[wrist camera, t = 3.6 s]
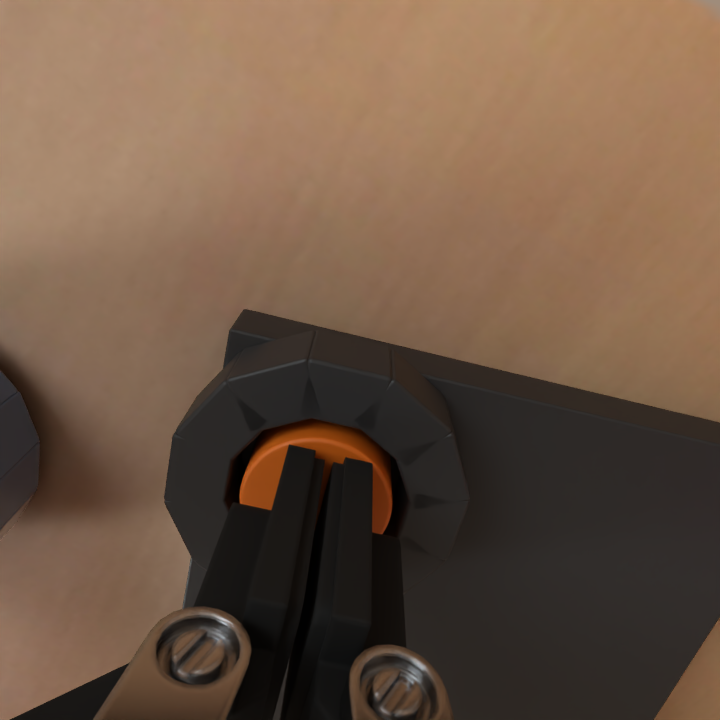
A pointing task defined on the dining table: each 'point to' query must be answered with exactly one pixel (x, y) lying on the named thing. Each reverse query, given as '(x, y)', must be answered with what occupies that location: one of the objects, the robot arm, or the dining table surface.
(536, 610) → the scale
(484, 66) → the dining table surface
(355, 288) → the dining table surface
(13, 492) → the bowl
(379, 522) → the button
